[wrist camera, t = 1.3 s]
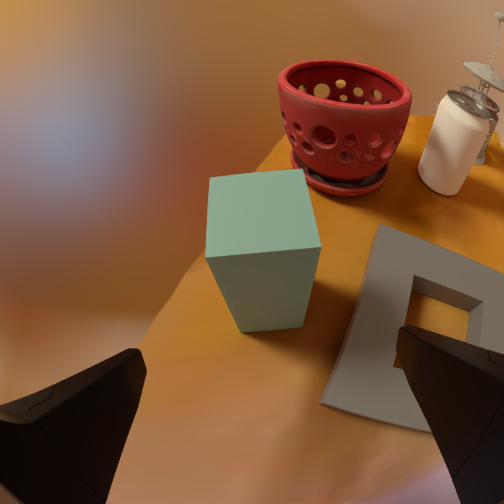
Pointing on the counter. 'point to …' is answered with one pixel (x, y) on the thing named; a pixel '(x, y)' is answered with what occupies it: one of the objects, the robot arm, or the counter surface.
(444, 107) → the can
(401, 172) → the counter surface
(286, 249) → the plug block
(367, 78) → the plant pot
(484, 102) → the french press
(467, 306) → the socket plate
